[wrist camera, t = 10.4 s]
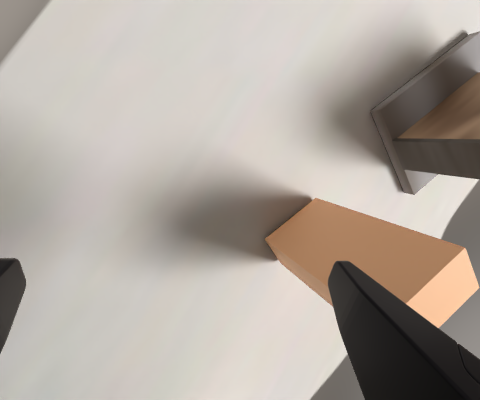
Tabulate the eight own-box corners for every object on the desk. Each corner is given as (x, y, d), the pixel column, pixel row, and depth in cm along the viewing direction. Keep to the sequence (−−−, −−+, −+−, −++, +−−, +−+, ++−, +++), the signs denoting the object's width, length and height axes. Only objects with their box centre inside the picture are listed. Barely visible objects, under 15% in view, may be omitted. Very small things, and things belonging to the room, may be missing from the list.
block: (280, 263, 23) (402, 364, 13) (264, 239, 22) (381, 327, 12) (329, 222, 24) (479, 287, 14) (315, 197, 23) (465, 247, 13)
